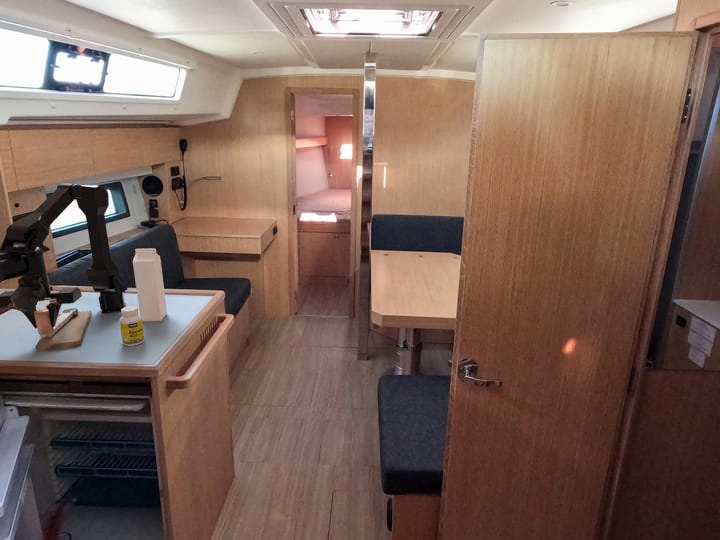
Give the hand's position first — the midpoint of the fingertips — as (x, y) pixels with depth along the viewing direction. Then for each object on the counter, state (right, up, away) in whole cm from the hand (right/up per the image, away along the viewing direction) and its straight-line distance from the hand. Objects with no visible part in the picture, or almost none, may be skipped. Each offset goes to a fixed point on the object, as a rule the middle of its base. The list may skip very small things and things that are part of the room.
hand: (45, 327), depth 123 cm
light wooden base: (0, -2, +8) cm, 9 cm away
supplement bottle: (+23, -4, +2) cm, 23 cm away
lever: (-1, 0, +8) cm, 8 cm away
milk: (+21, 0, +19) cm, 28 cm away
